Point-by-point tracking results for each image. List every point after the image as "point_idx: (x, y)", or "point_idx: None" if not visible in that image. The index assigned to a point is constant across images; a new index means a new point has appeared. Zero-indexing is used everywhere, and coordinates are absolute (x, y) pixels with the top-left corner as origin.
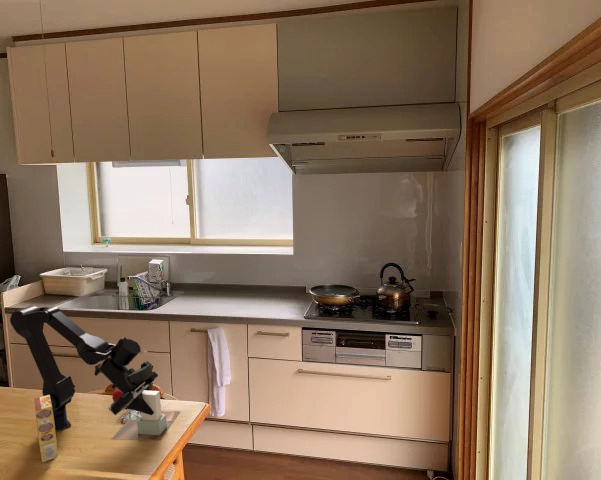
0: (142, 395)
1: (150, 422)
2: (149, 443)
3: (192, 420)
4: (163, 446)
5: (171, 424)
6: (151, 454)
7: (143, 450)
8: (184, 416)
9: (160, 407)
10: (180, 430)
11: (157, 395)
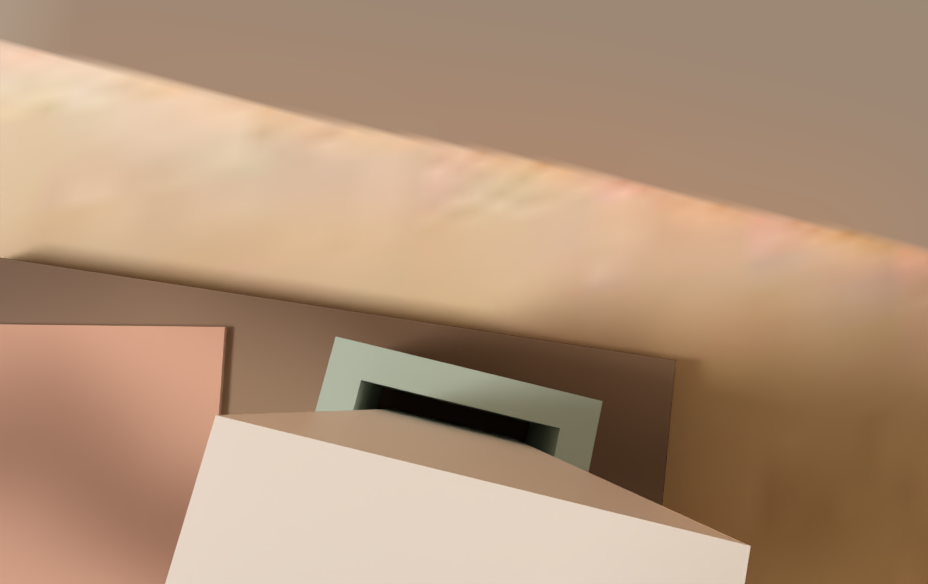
0: None
1: None
2: None
3: (184, 90)
4: (725, 319)
5: (308, 306)
6: (877, 419)
7: (797, 541)
8: (59, 204)
9: (371, 412)
10: (400, 192)
11: (486, 472)
